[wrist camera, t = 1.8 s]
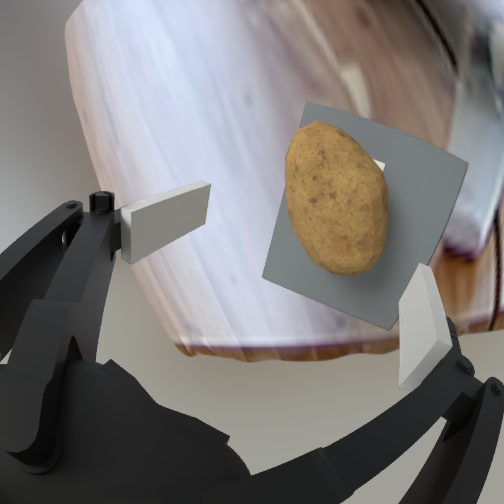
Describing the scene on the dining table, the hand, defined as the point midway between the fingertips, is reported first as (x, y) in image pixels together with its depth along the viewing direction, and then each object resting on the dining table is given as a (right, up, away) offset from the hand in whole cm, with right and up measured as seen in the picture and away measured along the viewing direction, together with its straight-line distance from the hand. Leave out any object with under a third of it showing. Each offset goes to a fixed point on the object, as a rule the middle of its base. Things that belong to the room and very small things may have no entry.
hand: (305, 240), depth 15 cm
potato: (+6, +6, +12) cm, 15 cm away
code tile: (+9, +2, +13) cm, 16 cm away
